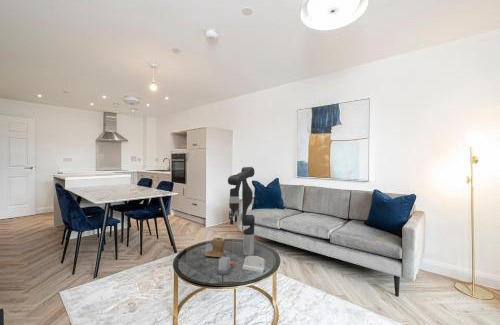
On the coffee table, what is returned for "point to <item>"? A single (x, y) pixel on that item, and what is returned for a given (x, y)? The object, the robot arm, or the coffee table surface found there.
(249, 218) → the robot arm
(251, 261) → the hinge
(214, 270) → the coffee table surface
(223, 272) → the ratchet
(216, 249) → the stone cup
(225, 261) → the socket
